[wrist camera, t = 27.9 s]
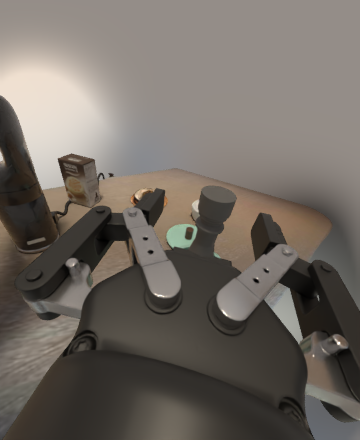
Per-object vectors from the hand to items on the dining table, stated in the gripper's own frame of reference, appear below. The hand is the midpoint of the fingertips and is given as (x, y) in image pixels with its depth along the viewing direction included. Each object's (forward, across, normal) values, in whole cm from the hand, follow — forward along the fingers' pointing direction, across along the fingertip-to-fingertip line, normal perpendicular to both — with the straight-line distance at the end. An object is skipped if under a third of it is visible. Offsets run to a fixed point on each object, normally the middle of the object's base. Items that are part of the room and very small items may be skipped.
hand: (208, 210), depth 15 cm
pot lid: (+28, +2, +29) cm, 41 cm away
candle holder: (+13, -2, +30) cm, 32 cm away
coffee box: (+35, +44, +30) cm, 64 cm away
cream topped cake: (+46, +22, +30) cm, 60 cm away
